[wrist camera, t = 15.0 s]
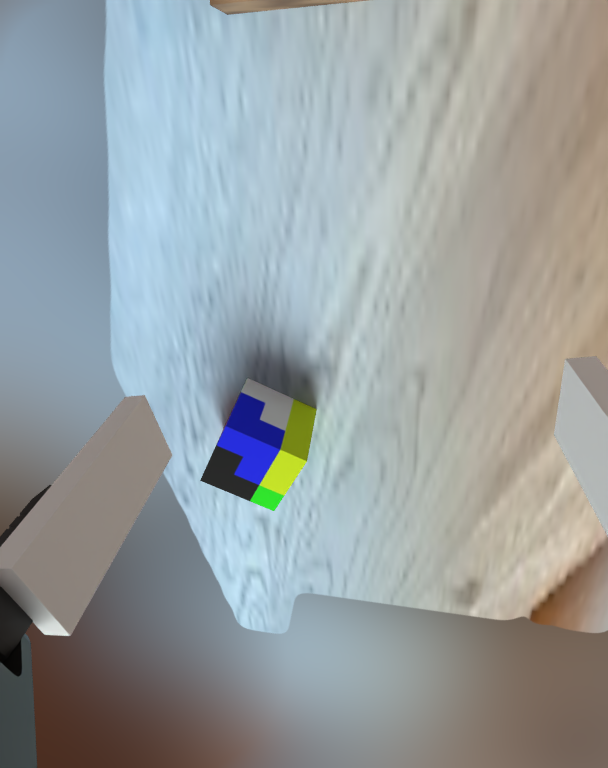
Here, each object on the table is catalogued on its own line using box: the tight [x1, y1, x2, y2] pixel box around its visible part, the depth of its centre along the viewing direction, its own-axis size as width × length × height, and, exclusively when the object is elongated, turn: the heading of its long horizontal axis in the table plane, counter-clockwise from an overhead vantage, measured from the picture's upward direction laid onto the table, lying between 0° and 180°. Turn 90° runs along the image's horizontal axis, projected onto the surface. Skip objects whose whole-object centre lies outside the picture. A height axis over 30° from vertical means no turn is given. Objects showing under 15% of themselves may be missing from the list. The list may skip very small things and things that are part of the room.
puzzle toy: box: [200, 378, 317, 511], centre depth 56 cm, size 10×10×10 cm
